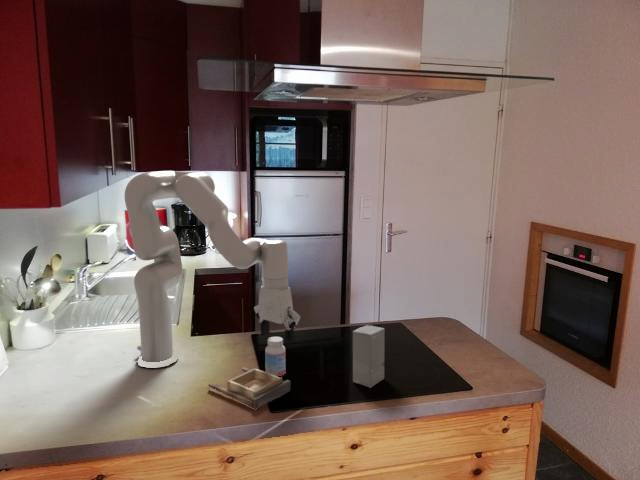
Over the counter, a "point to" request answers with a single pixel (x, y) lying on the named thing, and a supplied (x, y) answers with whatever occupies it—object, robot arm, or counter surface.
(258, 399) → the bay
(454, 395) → the counter surface
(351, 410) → the counter surface
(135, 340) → the counter surface
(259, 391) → the crate
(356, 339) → the skincare box
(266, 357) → the pill bottle
